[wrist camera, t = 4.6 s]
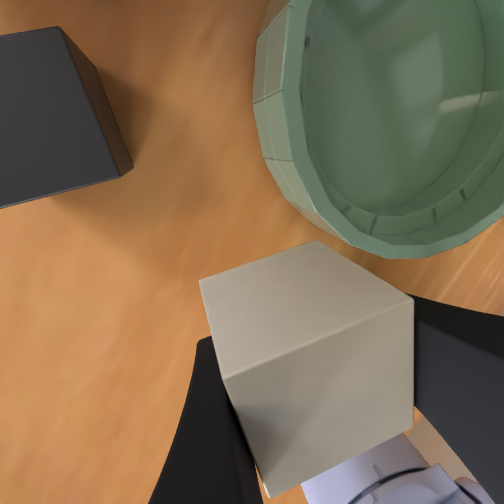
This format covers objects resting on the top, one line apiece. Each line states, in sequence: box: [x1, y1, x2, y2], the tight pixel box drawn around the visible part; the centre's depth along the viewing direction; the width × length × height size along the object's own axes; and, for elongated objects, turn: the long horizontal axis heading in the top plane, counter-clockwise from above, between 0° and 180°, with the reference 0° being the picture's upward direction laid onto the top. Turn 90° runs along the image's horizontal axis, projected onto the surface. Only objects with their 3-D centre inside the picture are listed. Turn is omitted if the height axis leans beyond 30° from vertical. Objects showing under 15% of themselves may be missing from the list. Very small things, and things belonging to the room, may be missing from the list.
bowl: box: [252, 0, 504, 259], centre depth 14 cm, size 17×17×4 cm
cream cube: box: [199, 240, 414, 499], centre depth 9 cm, size 4×4×4 cm
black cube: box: [0, 26, 134, 209], centre depth 11 cm, size 4×4×4 cm
